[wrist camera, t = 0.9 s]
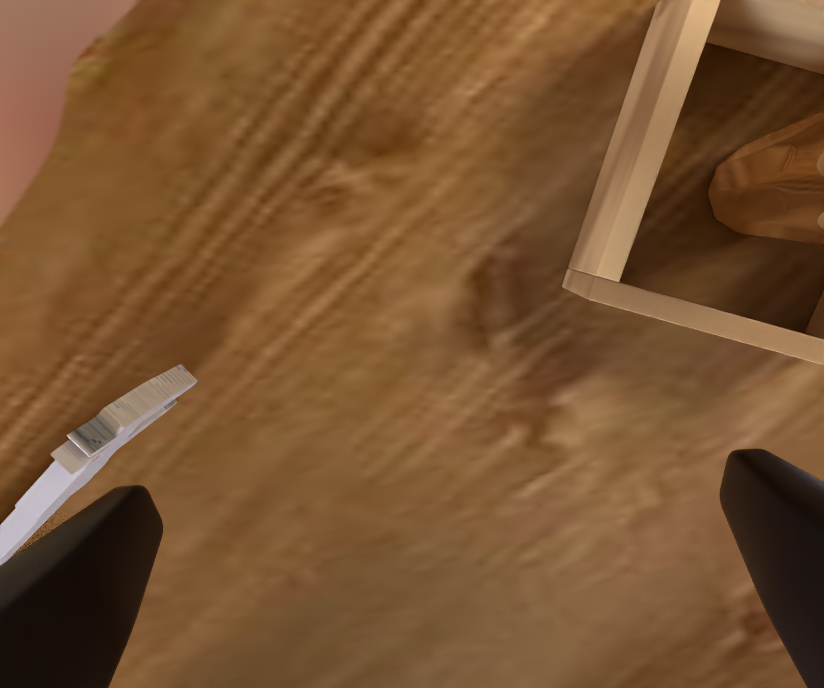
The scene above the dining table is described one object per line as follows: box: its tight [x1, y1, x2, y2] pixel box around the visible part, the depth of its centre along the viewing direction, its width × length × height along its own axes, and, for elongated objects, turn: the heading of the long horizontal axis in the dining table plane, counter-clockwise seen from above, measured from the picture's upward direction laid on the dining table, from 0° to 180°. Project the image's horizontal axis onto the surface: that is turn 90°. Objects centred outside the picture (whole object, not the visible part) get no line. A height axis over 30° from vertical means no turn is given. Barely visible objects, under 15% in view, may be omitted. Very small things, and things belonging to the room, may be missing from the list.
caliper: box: [0, 364, 197, 565], centre depth 22 cm, size 20×1×6 cm, turn 132°
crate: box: [562, 0, 824, 365], centre depth 18 cm, size 11×11×4 cm
